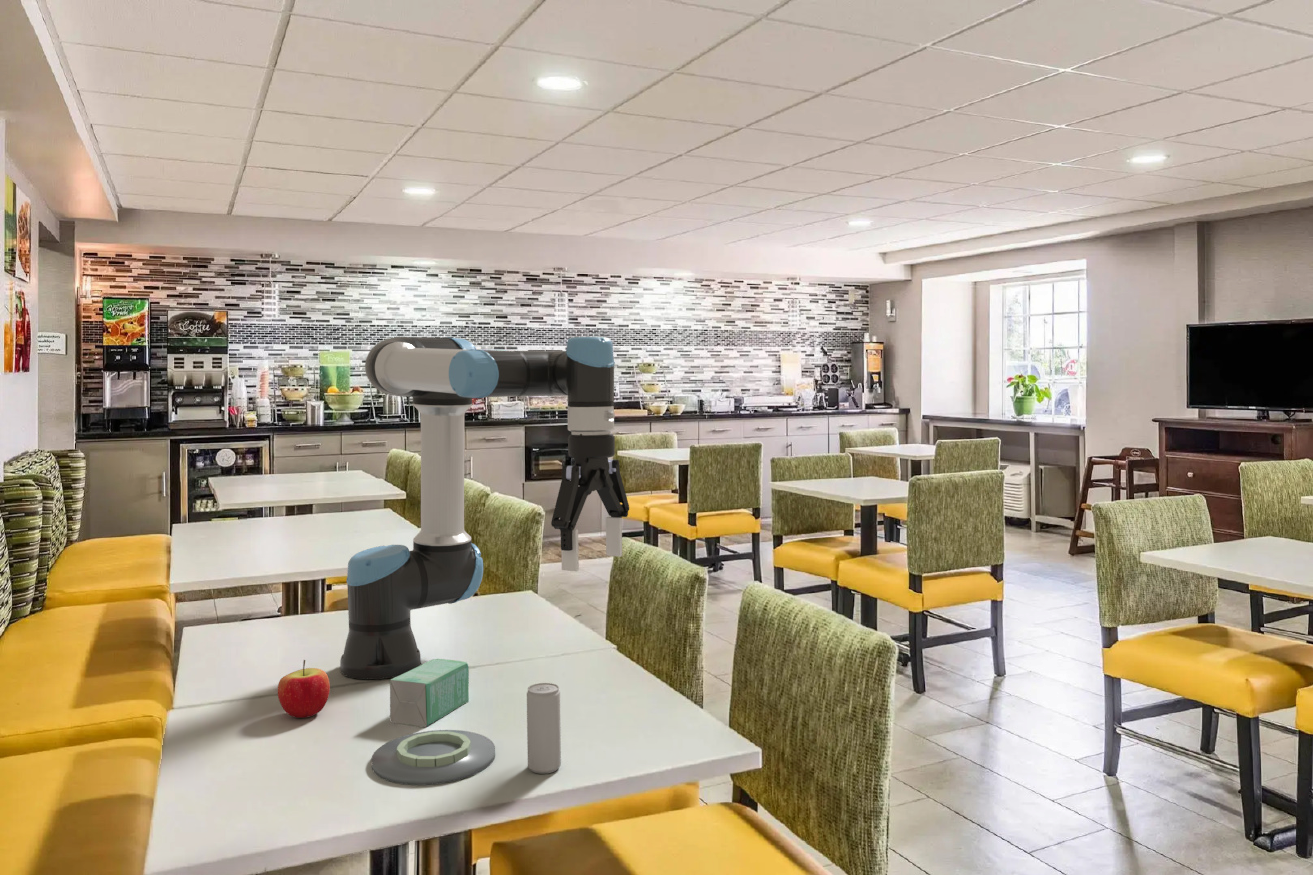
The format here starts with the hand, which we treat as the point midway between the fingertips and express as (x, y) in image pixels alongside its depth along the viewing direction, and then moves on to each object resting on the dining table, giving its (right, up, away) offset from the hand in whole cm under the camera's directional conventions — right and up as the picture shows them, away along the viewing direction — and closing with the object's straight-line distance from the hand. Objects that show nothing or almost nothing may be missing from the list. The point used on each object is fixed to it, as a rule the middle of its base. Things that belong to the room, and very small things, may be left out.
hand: (593, 563), depth 155 cm
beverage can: (-6, -28, -16) cm, 33 cm away
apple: (-49, -27, +6) cm, 56 cm away
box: (-28, -27, +8) cm, 40 cm away
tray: (-23, -28, -13) cm, 38 cm away
